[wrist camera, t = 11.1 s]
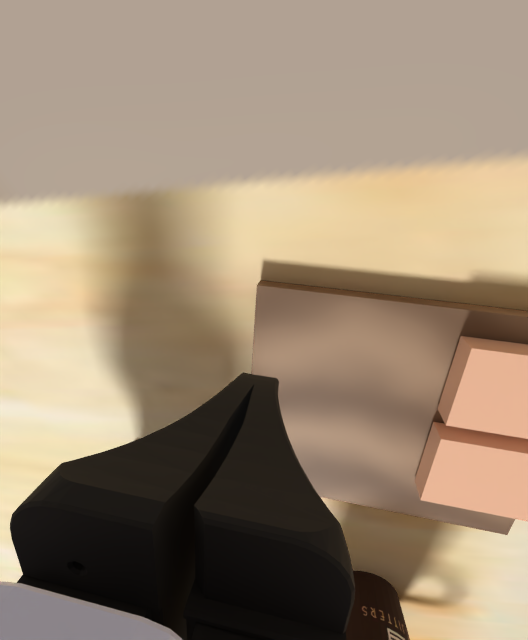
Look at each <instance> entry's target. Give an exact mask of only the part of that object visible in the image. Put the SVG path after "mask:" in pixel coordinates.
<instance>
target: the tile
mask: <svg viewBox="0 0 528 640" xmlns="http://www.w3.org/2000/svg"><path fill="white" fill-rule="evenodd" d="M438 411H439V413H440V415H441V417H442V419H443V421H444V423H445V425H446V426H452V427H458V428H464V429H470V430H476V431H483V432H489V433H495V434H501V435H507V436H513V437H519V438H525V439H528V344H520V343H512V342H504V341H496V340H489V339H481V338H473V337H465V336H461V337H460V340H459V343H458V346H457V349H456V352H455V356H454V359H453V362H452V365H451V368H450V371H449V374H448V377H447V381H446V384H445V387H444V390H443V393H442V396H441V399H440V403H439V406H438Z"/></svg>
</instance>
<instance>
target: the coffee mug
mask: <svg viewBox="0 0 528 640" xmlns="http://www.w3.org/2000/svg"><path fill="white" fill-rule="evenodd" d="M353 575H354V582H355V599H354V604H353V607H352V611H351V615H350V618H349V622H348V625H347V629H346V640H410V639H409V635H408V631H407V628H406V624H405V620H404V617H403V613H402V609H401V606H400V602H399V598H398V595H397V592H396V590H395V589H394V587H393V586H392V585H391V584H390V583H388V582H387V581H386V580H384V579H383V578H381V577H379V576H376V575H374V574H371V573H367V572H360V571H353Z"/></svg>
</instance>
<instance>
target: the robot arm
mask: <svg viewBox="0 0 528 640" xmlns="http://www.w3.org/2000/svg"><path fill="white" fill-rule="evenodd" d="M278 388H279V381H278V379H277V378H273V377H267V376H260V375H254V374H248V373H242V374H241V375H240V376H238V377H237V378H236V379H235V380H234V381H232V382H231V383H230V384H229V385H228V386H227V387H225V388H224V389H223V390H222V391H220V392H219V393H218V394H217V395H215V396H214V397H213V398H211V399H210V400H209V401H207V402H206V403H205V404H203V405H202V406H200V407H199V408H197V409H196V410H194V411H193V412H192V413H190V414H188V415H187V416H185V417H183V418H182V419H180V420H178V421H176V422H174V423H173V424H171V425H169V426H167V427H165V428H163V429H161V430H158V431H156V432H154V433H152V434H150V435H147V436H145V437H143V438H141V439H138V440H136V441H133V442H130V443H128V444H125V445H122V446H120V447H117V448H114V449H111V450H108V451H105V452H101V453H98V454H94V455H91V456H87V457H83V458H80V459H76V460H72V461H69V462H64V463H62V464H61V465H59V466H58V467H57V468H56V469H55V470H54V471H53V472H52V473H51V474H50V475H49V476H48V477H47V478H46V479H45V480H44V481H43V482H42V483H41V484H40V485H39V486H38V487H37V488H36V489H35V490H34V491H33V493H32V494H31V495H30V496H29V497H28V498H27V499H26V500H25V501H24V502H23V503H22V504H21V505H20V506H19V507H18V508H17V509H16V511H15V512H14V513H13V514H12V518H11V522H10V530H11V536H12V541H13V544H14V547H15V550H16V553H17V556H18V559H19V563H20V566H21V569H22V572H23V575H22V577H21V578H20V579H19V580H18V582H17V583H11V582H0V640H346V629H347V625H348V622H349V618H350V615H351V611H352V607H353V604H354V599H355V582H354V575H353V570H352V565H351V560H350V556H349V552H348V548H347V544H346V541H345V538H344V535H343V531H342V528H341V525H340V523H339V522H338V521H337V519H336V518H335V517H334V516H333V514H332V513H331V512H330V510H329V509H328V508H327V506H326V505H325V504H324V502H323V501H322V499H321V498H320V496H319V495H318V493H317V492H316V490H315V489H314V487H313V486H312V484H311V482H310V481H309V479H308V477H307V475H306V474H305V472H304V470H303V468H302V467H301V465H300V463H299V461H298V459H297V456H296V454H295V452H294V450H293V448H292V445H291V443H290V440H289V438H288V435H287V432H286V429H285V426H284V422H283V419H282V415H281V410H280V405H279V399H278Z"/></svg>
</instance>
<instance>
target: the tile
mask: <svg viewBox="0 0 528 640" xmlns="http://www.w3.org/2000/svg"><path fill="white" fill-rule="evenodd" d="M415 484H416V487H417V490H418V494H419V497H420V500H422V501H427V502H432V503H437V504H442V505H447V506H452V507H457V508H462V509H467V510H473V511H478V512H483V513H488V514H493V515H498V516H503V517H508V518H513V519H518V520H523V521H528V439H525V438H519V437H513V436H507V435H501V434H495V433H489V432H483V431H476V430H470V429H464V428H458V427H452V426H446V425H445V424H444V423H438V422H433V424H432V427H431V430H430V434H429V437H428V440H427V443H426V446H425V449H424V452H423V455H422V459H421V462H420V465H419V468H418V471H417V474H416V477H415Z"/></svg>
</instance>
